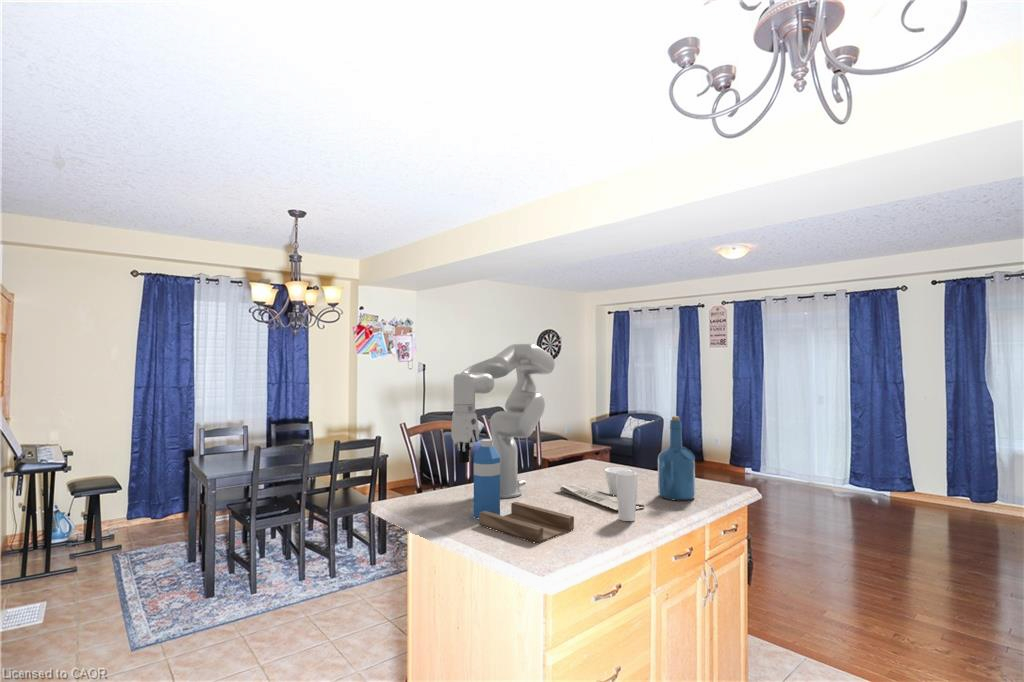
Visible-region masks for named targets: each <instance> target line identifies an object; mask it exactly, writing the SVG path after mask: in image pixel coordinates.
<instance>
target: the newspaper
mask: <svg viewBox="0 0 1024 682" xmlns="http://www.w3.org/2000/svg"><path fill="white" fill-rule="evenodd" d="M557 485H559V487H560V486H561V487H560V489H559V491H561V493H564V492H565V494H567V493H568V494H569V495H571V496H574V497H577V498H580V499H583V500H586V501H589V502H592V503H594V504H597V505H600V506H603V507H605V506H606V508H608V507H609V508H608V509H611V510H615V511H618V502H617V496H613V495H611V494H610V493H606V492H602V491H600V490H597V489H593V488H590V487H587V486H585V485H582V484H577V483H568V484H561V485H560V484H559V483H557ZM636 506H639V507H644V508H645V505H644V504H643V503H639V502H636Z"/></svg>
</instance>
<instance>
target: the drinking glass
mask: <svg viewBox="0 0 1024 682" xmlns="http://www.w3.org/2000/svg"><path fill="white" fill-rule="evenodd" d="M616 491H617V496H616V497H617V502H618V512H617V515H618V520H620V521H621V520H622V521H621V522H625V521H631V522H634V521H635V520H636V512H637V511H636V510H637V509H636V503H637V497H638V495H637V493H638V473H637V472H635V471H633V470H631V471H618V472H616Z"/></svg>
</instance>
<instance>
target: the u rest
mask: <svg viewBox="0 0 1024 682" xmlns="http://www.w3.org/2000/svg"><path fill="white" fill-rule="evenodd" d="M510 504H511V505H510V507H511V508H510V509H511V511H510V513H508V514H506V515H501V514H500V515H498V514H494V513H491V512H487V511H483V512H479V519H478V520H479V523H478V524H479V526H480V525H482V526H481V527H483V526H485V527H484V528H486V527H488V528H487V529H489V528H491V529H490V530H492V529H494V530H493V531H495V530H497V531H496V532H498V531H500V532H499V533H501V532H503V533H502V534H504V535H508V536H511V535H512V536H511V537H514V536H515V537H514V538H517V537H519V538H518V539H520V538H522V539H521V540H523V539H525V540H524V541H526V540H528V542H529V541H531V542H530V543H533V542H535V543H534V544H536V543H539V544H541V543H540V542H542V543H544V542H546V541H545V540H547V541H549V540H552V539H554V538H557V537H559V536H561V535H560V534H562V535H564V534H563V533H565V532H567V533H569V532H568V531H570V532H572V531H574V530H575V516H574V515H569V514H566V513H562V512H558V511H554V510H549V509H546V508H541V507H538V506H534V505H532V504H531V505H530V504H527V503H523V502H519V501H514V502H511V503H510ZM573 529H574V530H573ZM571 530H572V531H571ZM565 534H566V533H565ZM558 535H559V536H558ZM556 536H557V537H556ZM553 537H554V538H553ZM551 538H552V539H551ZM548 539H549V540H548ZM543 541H544V542H543Z"/></svg>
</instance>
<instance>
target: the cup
mask: <svg viewBox="0 0 1024 682" xmlns="http://www.w3.org/2000/svg"><path fill="white" fill-rule="evenodd" d="M618 471H632V470H631V469H629V468H626V467H615V466H614V467H607V468H605V469H604V474H605V477H606V481H607V482H606V483H607V486H608V491H609V494H610V495H614V496H616V497H617V491H616V472H618Z"/></svg>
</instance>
